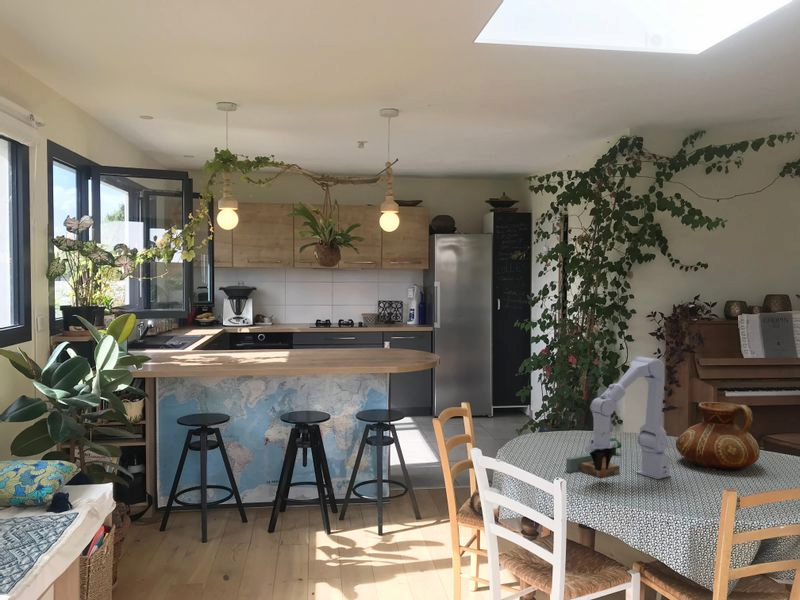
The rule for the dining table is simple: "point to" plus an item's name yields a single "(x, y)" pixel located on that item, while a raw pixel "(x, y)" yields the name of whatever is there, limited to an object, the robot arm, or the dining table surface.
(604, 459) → the dowel
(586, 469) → the square frame
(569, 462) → the wall
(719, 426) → the jug
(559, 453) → the dining table surface
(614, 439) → the clamp
